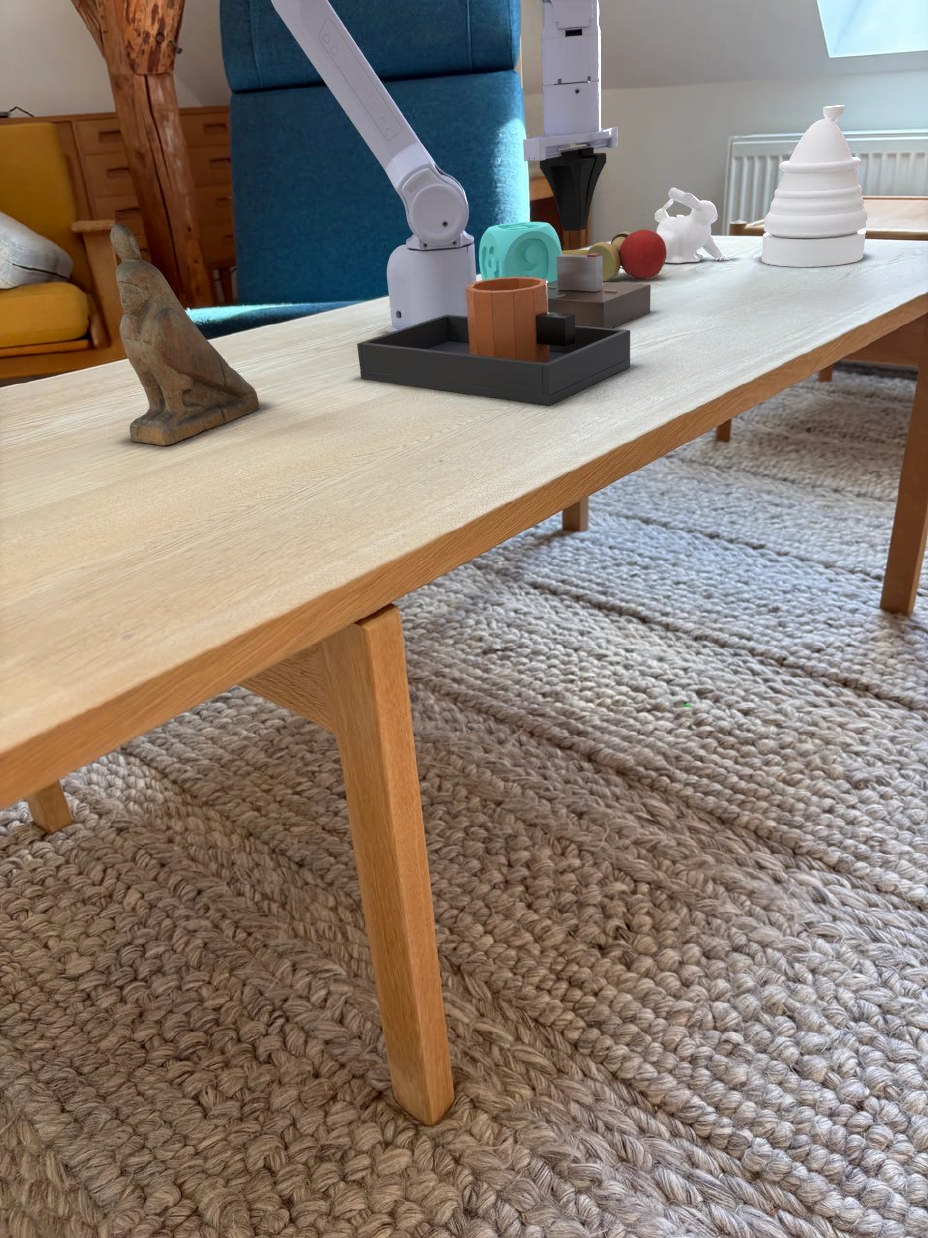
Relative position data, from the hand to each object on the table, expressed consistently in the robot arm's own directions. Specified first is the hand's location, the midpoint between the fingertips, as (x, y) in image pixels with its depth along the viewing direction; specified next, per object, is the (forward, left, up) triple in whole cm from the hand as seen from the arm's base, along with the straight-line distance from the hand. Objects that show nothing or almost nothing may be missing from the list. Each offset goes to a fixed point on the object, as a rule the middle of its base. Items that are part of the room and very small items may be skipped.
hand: (574, 229), depth 103 cm
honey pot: (+10, +43, -10) cm, 45 cm away
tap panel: (0, +1, -9) cm, 9 cm away
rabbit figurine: (-6, +37, -10) cm, 39 cm away
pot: (+8, -22, -8) cm, 25 cm away
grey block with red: (0, +1, -6) cm, 6 cm away
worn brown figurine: (-9, -45, -10) cm, 47 cm away
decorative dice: (-15, +11, -10) cm, 21 cm away
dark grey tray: (+5, -22, -9) cm, 24 cm away
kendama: (-11, +24, -10) cm, 28 cm away
